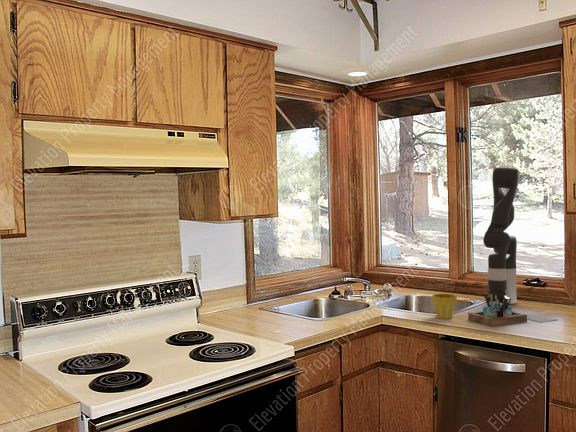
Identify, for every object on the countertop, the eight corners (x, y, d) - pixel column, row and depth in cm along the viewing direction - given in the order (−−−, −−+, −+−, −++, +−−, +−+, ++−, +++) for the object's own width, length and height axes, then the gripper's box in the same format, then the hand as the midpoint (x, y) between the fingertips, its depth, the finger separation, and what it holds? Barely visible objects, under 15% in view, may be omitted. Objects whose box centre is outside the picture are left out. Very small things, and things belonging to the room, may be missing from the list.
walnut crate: (468, 319, 239) (468, 313, 239) (502, 315, 247) (502, 308, 247) (492, 326, 227) (492, 319, 226) (526, 321, 234) (526, 314, 234)
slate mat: (514, 316, 245) (514, 315, 245) (531, 313, 249) (531, 313, 249) (540, 322, 232) (540, 322, 232) (558, 319, 236) (558, 319, 236)
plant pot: (451, 320, 238) (451, 298, 238) (428, 318, 245) (428, 296, 244) (460, 316, 247) (460, 294, 246) (437, 313, 253) (437, 292, 252)
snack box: (510, 320, 238) (510, 305, 238) (511, 320, 236) (511, 306, 236) (482, 321, 237) (482, 306, 237) (484, 321, 236) (484, 307, 236)
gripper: (516, 279, 231) (516, 321, 232) (491, 275, 244) (492, 314, 245) (502, 281, 228) (502, 323, 229) (478, 277, 241) (478, 316, 242)
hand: (497, 318), depth 237 cm, fingers closed
